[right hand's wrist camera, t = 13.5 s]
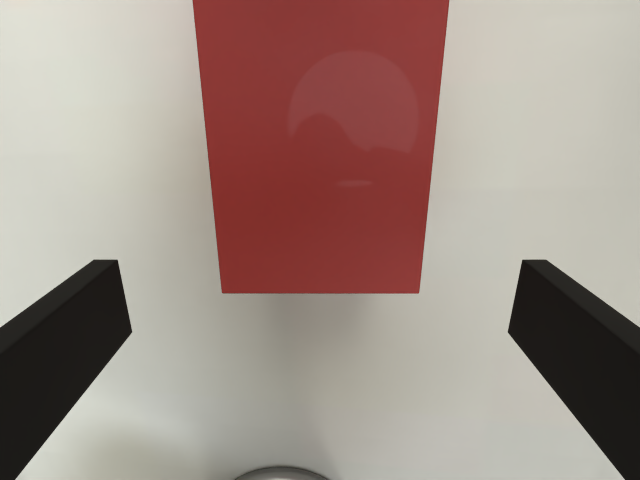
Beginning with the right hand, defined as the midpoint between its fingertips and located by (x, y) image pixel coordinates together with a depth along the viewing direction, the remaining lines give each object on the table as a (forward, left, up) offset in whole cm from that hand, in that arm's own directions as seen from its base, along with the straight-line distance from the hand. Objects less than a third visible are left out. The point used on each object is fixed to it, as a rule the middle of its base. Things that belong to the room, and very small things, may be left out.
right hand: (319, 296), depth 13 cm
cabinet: (+2, +4, -19) cm, 19 cm away
